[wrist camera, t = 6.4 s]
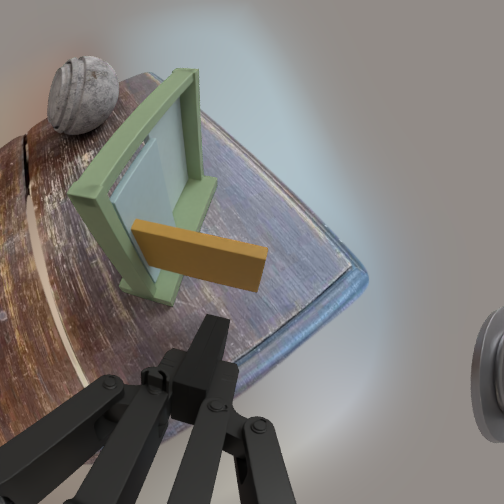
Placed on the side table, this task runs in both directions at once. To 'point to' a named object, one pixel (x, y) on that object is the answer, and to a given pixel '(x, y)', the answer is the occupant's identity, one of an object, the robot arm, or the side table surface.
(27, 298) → the side table surface
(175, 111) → the window frame
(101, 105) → the decorative orb
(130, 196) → the window pane
